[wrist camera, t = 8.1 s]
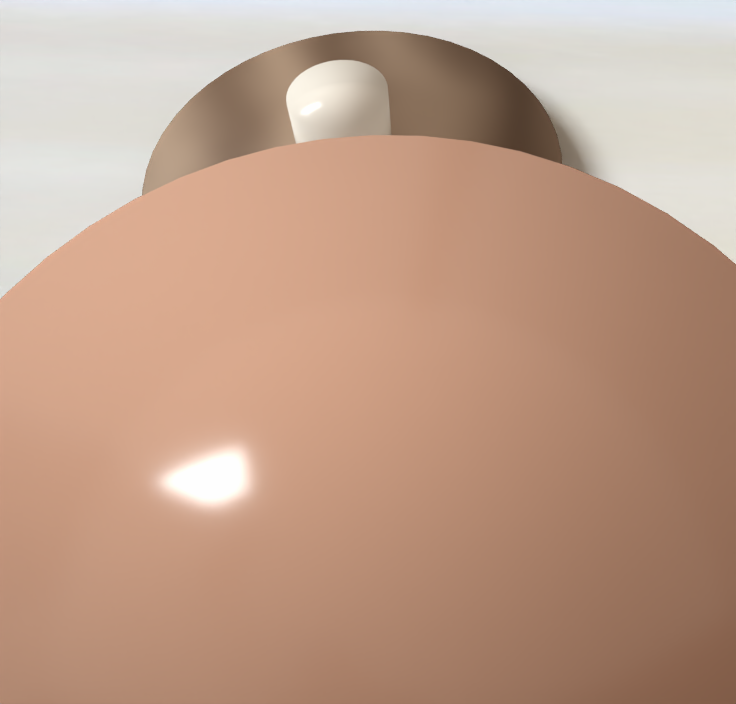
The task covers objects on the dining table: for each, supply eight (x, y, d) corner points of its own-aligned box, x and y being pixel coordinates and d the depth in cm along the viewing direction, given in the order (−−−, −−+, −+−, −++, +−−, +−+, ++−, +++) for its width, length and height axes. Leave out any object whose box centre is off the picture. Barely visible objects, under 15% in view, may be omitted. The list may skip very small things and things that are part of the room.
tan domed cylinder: (160, 958, 14) (-393, 1379, 5) (185, 457, 20) (-44, 185, 10) (699, 907, 14) (1275, 1244, 4) (569, 413, 19) (700, 91, 10)
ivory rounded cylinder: (303, 202, 32) (287, 135, 28) (300, 136, 34) (284, 67, 31) (398, 190, 32) (393, 121, 28) (388, 124, 34) (382, 53, 31)
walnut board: (136, 385, 29) (122, 368, 28) (166, 80, 40) (156, 58, 38) (606, 328, 29) (613, 308, 28) (512, 33, 39) (515, 8, 38)
